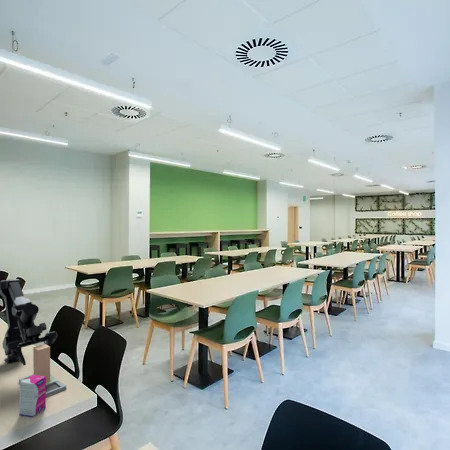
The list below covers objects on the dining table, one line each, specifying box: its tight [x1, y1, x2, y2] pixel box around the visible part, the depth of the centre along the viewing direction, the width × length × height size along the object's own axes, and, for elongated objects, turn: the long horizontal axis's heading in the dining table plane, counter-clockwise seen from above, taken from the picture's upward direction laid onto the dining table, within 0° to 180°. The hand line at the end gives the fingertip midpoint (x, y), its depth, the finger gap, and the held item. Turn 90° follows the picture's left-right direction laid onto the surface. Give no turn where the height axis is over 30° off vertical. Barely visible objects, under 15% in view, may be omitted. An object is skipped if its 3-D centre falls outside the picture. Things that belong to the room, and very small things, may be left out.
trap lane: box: [18, 373, 67, 398], centre depth 127 cm, size 20×10×1 cm, turn 50°
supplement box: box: [18, 374, 47, 418], centre depth 109 cm, size 6×6×12 cm
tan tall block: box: [32, 344, 51, 383], centre depth 127 cm, size 4×4×14 cm
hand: (37, 361), depth 130 cm, fingers open, 9 cm apart
